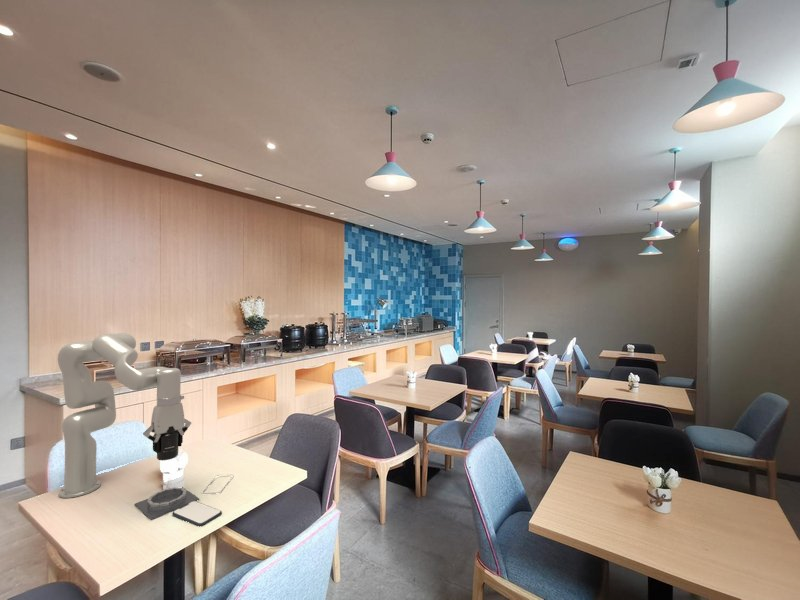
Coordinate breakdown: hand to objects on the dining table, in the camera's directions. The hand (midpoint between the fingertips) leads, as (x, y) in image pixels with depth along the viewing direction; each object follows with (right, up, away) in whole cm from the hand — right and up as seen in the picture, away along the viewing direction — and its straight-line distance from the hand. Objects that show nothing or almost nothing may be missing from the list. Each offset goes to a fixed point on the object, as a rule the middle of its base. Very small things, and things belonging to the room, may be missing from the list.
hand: (168, 448), depth 133 cm
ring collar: (0, -20, -1) cm, 20 cm away
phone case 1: (+16, -21, -8) cm, 27 cm away
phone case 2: (+12, -21, +13) cm, 28 cm away
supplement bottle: (0, -4, 0) cm, 4 cm away
